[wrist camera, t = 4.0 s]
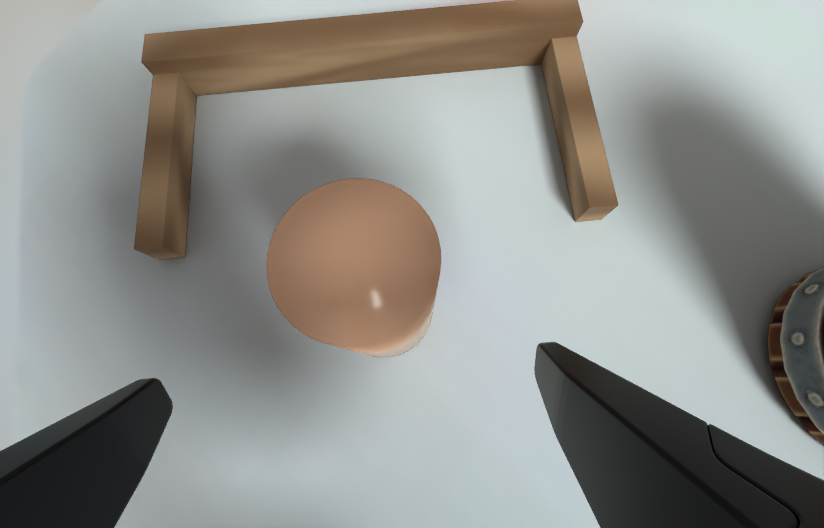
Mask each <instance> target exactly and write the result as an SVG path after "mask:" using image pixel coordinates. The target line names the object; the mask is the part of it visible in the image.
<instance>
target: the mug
mask: <svg viewBox="0 0 824 528" xmlns="http://www.w3.org/2000/svg"><path fill="white" fill-rule="evenodd" d="M768 348H769V358H770V363H771V367H772V370H773V374H774V378H775V380H776V382H777V384H778V387H779V389H780V391H781V393H782V396H783V398H784V399H785V401H786V402H787V404H788V405H789V407H790V409H791V410H792V412H793V413H794V415H795V416H797V417H799V419H800V420H801V422H802V423H803V425H804V426H805V427H806V429H807V430H808V432H810V433H811V434H812V435H813V436H814V437H815V438H816V439H817V440H818V441H819V442H821V443H822V444H823V445H824V268H822V269H818V270H816V271H813V272H811V273H809V274H806V275H804V276H803V277H802V279H801V280H800V282H799V283H796V284H791V286H790V287H789V288H788V289H787V290H786V291H785V292H784V293H783V294H782V296H781V297H780V299H779V301H778V303H777V304H776V306H775V308H774V311H773V316H772V322H771V323H770V324H769V334H768Z"/></svg>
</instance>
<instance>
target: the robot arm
mask: <svg viewBox="0 0 824 528" xmlns="http://www.w3.org/2000/svg"><path fill="white" fill-rule="evenodd" d="M535 377H536V381H537V384H538V387H539V390H540V393H541V395H542V398H543V401H544V404H545V407H546V410H547V413H548V416H549V419H550V421H551V424H552V427H553V430H554V432H555V435H556V437H557V439H558V441H559V443H560V445H561V447H562V450H563V452H564V454H565V456H566V458H567V460H568V462H569V464H570V466H571V468H572V470H573V472H574V474H575V476H576V478H577V480H578V482H579V484H580V486H581V489H582V491H583V493H584V495H585V497H586V499H587V501H588V503H589V505H590V507H591V509H592V511H593V513H594V515H595V517H596V519H597V521H598V523H599V525H600V527H601V528H824V480H822V479H820V478H817V477H815V476H813V475H811V474H809V473H807V472H805V471H803V470H801V469H799V468H796V467H794V466H792V465H790V464H788V463H786V462H784V461H782V460H780V459H778V458H776V457H774V456H771V455H769V454H767V453H765V452H764V451H762V450H760V449H758V448H756V447H754V446H752V445H750V444H748V443H746V442H744V441H742V440H740V439H738V438H736V437H734V436H732V435H730V434H729V433H727V432H725V431H723V430H721V429H719V428H717V427H715V426H714V425H711V424H709V425H708V426H707V423H706V422H705V421H703V420H701V419H699V418H697V417H695V416H693V415H692V414H690V413H688V412H686V411H684V410H682V409H680V408H678V407H676V406H675V405H673V404H671V403H669V402H667V401H665V400H663V399H661V398H660V397H658V396H656V395H654V394H652V393H650V392H648V391H646V390H645V389H643V388H641V387H639V386H637V385H635V384H633V383H631V382H630V381H628V380H626V379H624V378H622V377H620V376H618V375H616V374H615V373H613V372H611V371H609V370H607V369H605V368H603V367H601V366H599V365H598V364H596V363H594V362H592V361H590V360H588V359H586V358H584V357H583V356H581V355H579V354H577V353H575V352H573V351H571V350H569V349H568V348H566V347H564V346H562V345H560V344H558V343H556V342H546V343H539V344H538V346H537V350H536V359H535ZM172 409H173V405H172V401H171V399H170V397H169V395H168V393H167V392H166V390H165V388H164V386H163V385H162V383H161V381H160V380H158V379H156V378H150V379H140V380H137V381H135V382H133V383H131V384H129V385H127V386H126V387H124V388H122V389H120V390H118V391H116V392H114V393H112V394H110V395H108V396H106V397H104V398H102V399H100V400H98V401H97V402H95V403H93V404H91V405H89V406H87V407H85V408H83V409H81V410H79V411H77V412H75V413H73V414H71V415H69V416H68V417H66V418H64V419H62V420H60V421H58V422H56V423H54V424H52V425H50V426H48V427H46V428H44V429H42V430H40V431H39V432H37V433H35V434H33V435H31V436H29V437H27V438H25V439H23V440H21V441H19V442H17V443H15V444H13V445H11V446H9V447H8V448H6V449H4V450H2V451H0V528H114V527H115V525H116V523H117V522H118V520H119V518H120V516H121V515H122V513H123V511H124V509H125V507H126V506H127V504H128V502H129V500H130V498H131V497H132V495H133V493H134V491H135V490H136V488H137V486H138V484H139V482H140V481H141V479H142V477H143V475H144V473H145V471H146V469H147V467H148V465H149V463H150V461H151V459H152V456H153V454H154V452H155V450H156V447H157V445H158V443H159V441H160V438H161V436H162V434H163V432H164V429H165V427H166V425H167V422H168V420H169V418H170V416H171V413H172Z"/></svg>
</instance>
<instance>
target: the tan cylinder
mask: <svg viewBox="0 0 824 528" xmlns="http://www.w3.org/2000/svg"><path fill="white" fill-rule="evenodd" d="M440 267H441V249H440V243H439V238H438V235H437V232H436V229H435V227H434V225H433V223H432V221H431V219H430V217H429V216H428V214H427V213H426V211H425V210H424V209H423V208H422V207H421V205H420V204H419V203H418V202H417V201H416V200H414V199H413V198H412V197H411V196H410V195H408V194H407V193H405V192H404V191H402V190H401V189H399V188H397V187H395V186H393V185H390V184H387V183H384V182H382V181H377V180H372V179H362V178H356V179H344V180H338V181H335V182H331V183H328V184H325V185H323V186H320V187H318V188H316V189H314V190H312V191H311V192H309V193H307V194H306V195H305V196H303V197H302V198H300V199H299V200H298V201H297V202H296V203H295V204H294V205H293V206H291V208H290V209H289V210H288V211H287V212H286V213H285V215H284V216H283V218H282V219H281V220H280V222H279V223H278V225H277V227H276V229H275V231H274V233H273V236H272V239H271V242H270V245H269V249H268V254H267V278H268V284H269V288H270V291H271V294H272V297H273V299H274V301H275V303H276V305H277V307H278V308H279V310H280V311H281V313H282V314H283V316H284V317H285V318H286V319H287V320H288V321H289V322H290V323H291V324H292V325H293V326H294V327H295V328H297V329H298V330H299V331H300V332H302V333H304V334H305V335H307V336H309V337H310V338H312V339H315V340H317V341H320V342H322V343H326V344H330V345H333V346H337V347H341V348H345V349H348V350H352V351H356V352H359V353H363V354H367V355H370V356H374V357H394V356H397V355H401V354H403V353H405V352H407V351H409V350H410V349H412V348H413V347H414V346H416V345H417V344H418V343H419V342H420V341H421V340H422V338H423V337H424V335H425V334H426V332H427V330H428V328H429V325H430V322H431V318H432V313H433V307H434V302H435V297H436V291H437V286H438V280H439V275H440Z"/></svg>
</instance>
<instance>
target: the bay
mask: <svg viewBox="0 0 824 528" xmlns="http://www.w3.org/2000/svg"><path fill="white" fill-rule="evenodd" d="M582 23H583V19H582V15H581V11H580V8H579V4H578V0H515V1H504V2H493V3H482V4H471V5H460V6H449V7H438V8H427V9H416V10H405V11H394V12H383V13H372V14H362V15H351V16H340V17H329V18H318V19H307V20H296V21H285V22H274V23H263V24H252V25H241V26H230V27H219V28H209V29H198V30H187V31H176V32H165V33H154V34H145V37H144V45H143V53H142V63H143V65H144V66H145V67H146V68H147V69H148V70H149V71H150V72H151V73H152V74H153V81H152V90H151V99H150V108H149V117H148V126H147V135H146V145H145V154H144V163H143V172H142V181H141V190H140V199H139V208H138V218H137V227H136V236H135V245H134V249H135V250H137V251H140V252H142V253H144V254H147V255H149V256H152V257H154V258H156V259H159V260H161V259H172V258H183V257H185V252H186V238H187V224H188V210H189V196H190V182H191V169H192V155H193V141H194V127H195V113H196V99H197V96H198V95H209V94H220V93H231V92H242V91H253V90H264V89H274V88H285V87H296V86H307V85H318V84H329V83H340V82H351V81H362V80H373V79H384V78H395V77H406V76H417V75H428V74H439V73H450V72H461V71H472V70H483V69H494V68H504V67H515V66H526V65H537V64H542V69H543V73H544V78H545V83H546V87H547V92H548V97H549V101H550V106H551V111H552V115H553V120H554V125H555V129H556V134H557V139H558V143H559V148H560V153H561V157H562V162H563V167H564V172H565V176H566V181H567V186H568V190H569V195H570V200H571V204H572V209H573V214H574V218H575V222H579V221H590V220H601V219H602V218H604V217H605V216H606V215H607V214H608V213H610V212H611V211H612V210H613V209H614V208H616V207H617V206H618V201H617V197H616V193H615V189H614V185H613V181H612V177H611V173H610V169H609V165H608V161H607V157H606V153H605V149H604V145H603V141H602V137H601V133H600V129H599V125H598V121H597V117H596V113H595V109H594V105H593V101H592V97H591V93H590V89H589V85H588V81H587V77H586V73H585V69H584V65H583V61H582V57H581V53H580V49H579V45H578V41H577V37H576V36H577V34H578V32H579V30H580V28H581V25H582Z"/></svg>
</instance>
